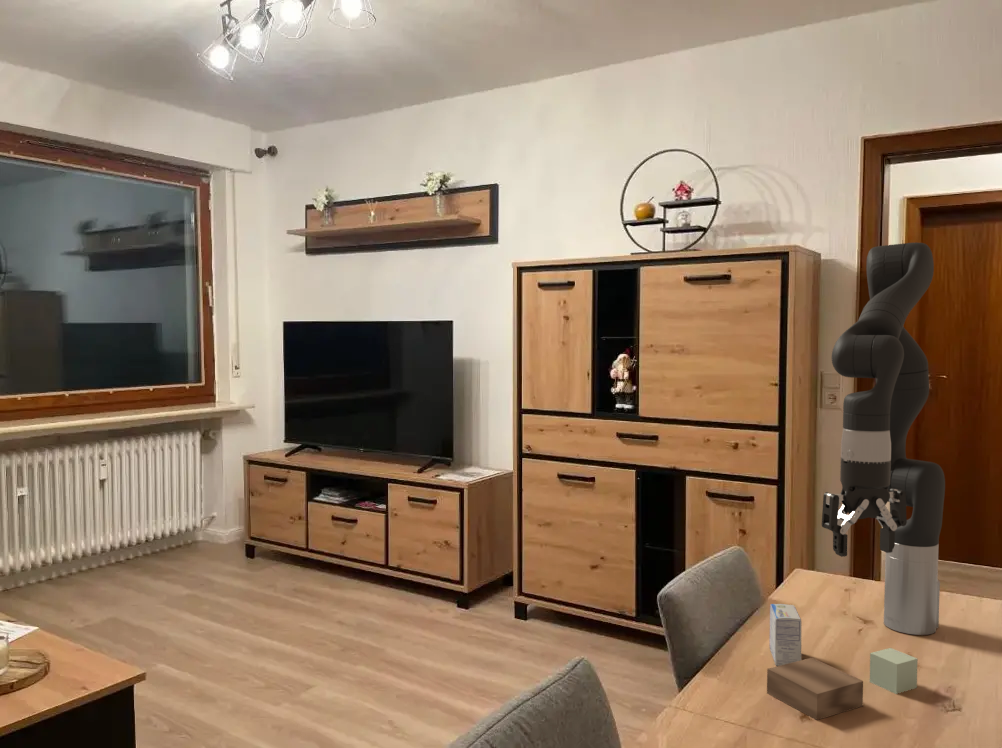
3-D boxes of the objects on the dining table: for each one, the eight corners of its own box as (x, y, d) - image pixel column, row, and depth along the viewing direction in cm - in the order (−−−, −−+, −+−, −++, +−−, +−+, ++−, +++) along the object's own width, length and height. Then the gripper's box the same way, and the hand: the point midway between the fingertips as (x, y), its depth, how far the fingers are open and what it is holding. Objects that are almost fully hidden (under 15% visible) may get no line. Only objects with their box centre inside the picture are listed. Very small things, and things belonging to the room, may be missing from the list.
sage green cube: (889, 676, 135) (890, 647, 135) (916, 688, 131) (917, 658, 131) (869, 682, 133) (870, 653, 133) (896, 694, 129) (897, 664, 128)
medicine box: (801, 668, 138) (802, 619, 138) (774, 666, 139) (775, 617, 139) (794, 651, 146) (795, 604, 146) (768, 649, 147) (769, 602, 146)
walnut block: (811, 681, 133) (811, 657, 133) (862, 706, 124) (863, 681, 124) (766, 693, 129) (767, 668, 129) (816, 720, 120) (817, 693, 120)
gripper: (887, 451, 136) (885, 544, 137) (813, 454, 133) (811, 550, 134) (919, 458, 129) (917, 556, 130) (841, 462, 126) (839, 563, 127)
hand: (863, 553), depth 132 cm, fingers open, 8 cm apart
